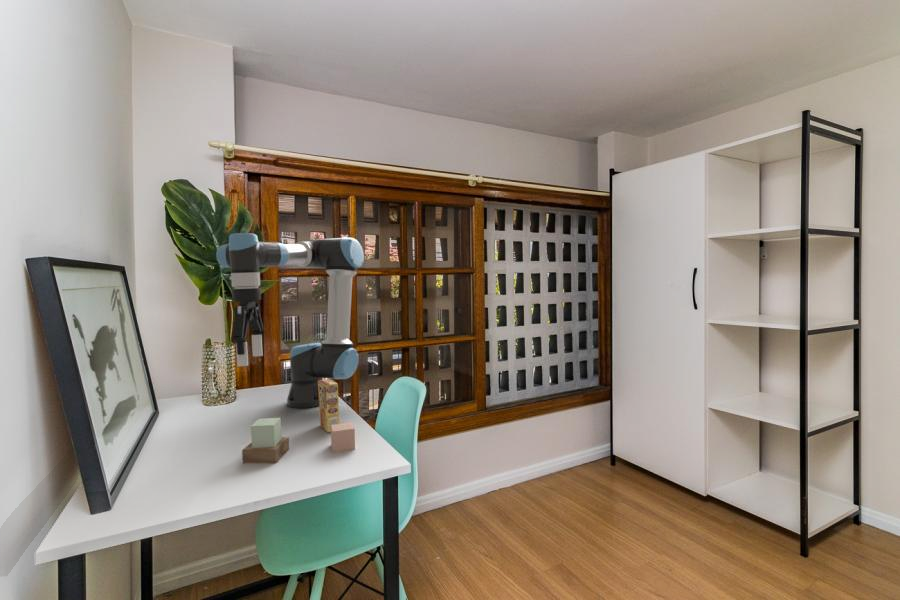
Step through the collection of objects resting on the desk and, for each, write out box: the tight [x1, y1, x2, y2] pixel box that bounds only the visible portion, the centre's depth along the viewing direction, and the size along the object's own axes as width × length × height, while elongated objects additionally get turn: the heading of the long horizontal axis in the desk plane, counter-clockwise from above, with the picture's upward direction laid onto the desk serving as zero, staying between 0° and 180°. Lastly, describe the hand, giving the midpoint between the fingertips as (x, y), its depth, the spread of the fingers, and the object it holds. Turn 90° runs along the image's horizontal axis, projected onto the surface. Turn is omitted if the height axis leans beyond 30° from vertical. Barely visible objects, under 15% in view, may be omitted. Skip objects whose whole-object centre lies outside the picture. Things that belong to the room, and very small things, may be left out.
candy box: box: [318, 378, 340, 433], centre depth 144 cm, size 9×4×15 cm, turn 33°
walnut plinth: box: [241, 436, 290, 464], centre depth 122 cm, size 9×9×4 cm
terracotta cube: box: [330, 421, 356, 453], centre depth 128 cm, size 6×6×6 cm
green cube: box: [250, 417, 282, 448], centre depth 122 cm, size 6×6×6 cm
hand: (250, 360), depth 129 cm, fingers open, 13 cm apart
